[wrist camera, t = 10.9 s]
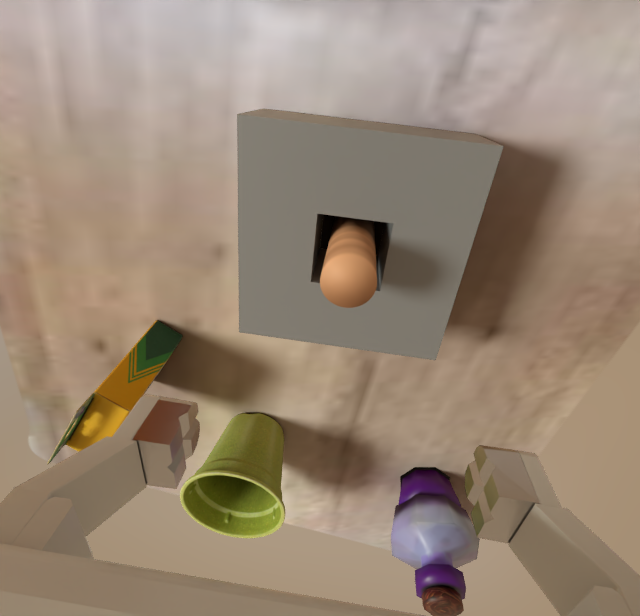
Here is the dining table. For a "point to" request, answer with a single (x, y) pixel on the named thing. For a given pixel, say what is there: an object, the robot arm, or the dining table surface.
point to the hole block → (360, 203)
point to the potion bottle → (434, 539)
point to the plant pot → (240, 480)
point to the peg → (350, 263)
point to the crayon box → (120, 389)
